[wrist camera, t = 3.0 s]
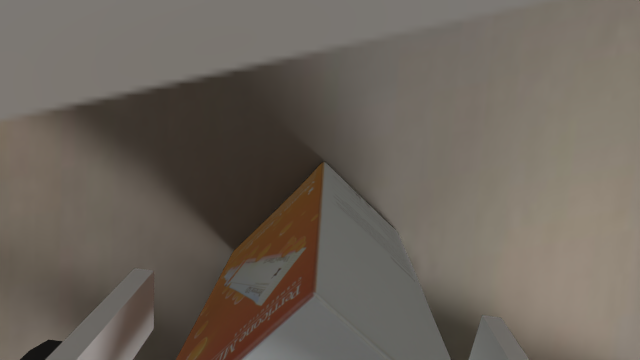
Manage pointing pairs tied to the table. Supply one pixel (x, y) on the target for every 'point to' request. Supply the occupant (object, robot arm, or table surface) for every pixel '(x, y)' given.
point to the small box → (318, 287)
